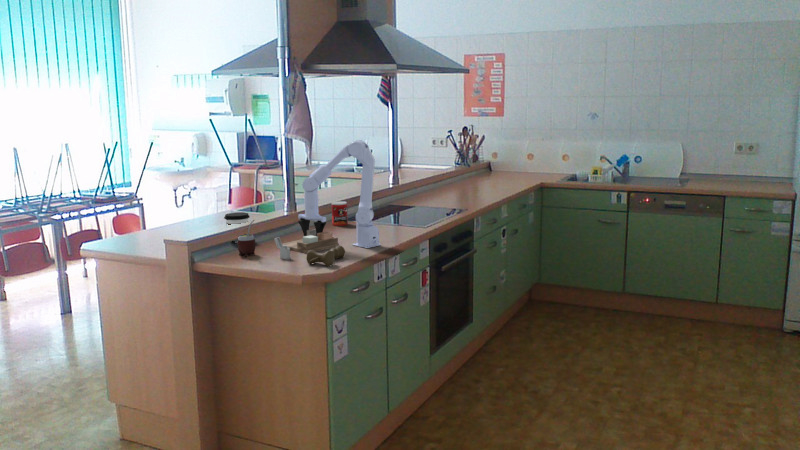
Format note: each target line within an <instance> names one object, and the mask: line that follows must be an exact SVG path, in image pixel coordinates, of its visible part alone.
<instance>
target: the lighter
mask: <svg viewBox="0 0 800 450" xmlns="http://www.w3.org/2000/svg"><path fill="white" fill-rule="evenodd" d="M273 240H274V243H275V245H276V247H277V249H279V256H280V259H282V260H290V259H291V250H290V248H287V245H282V241H281V238H280V237H279V236H277V237H275V238H274V239H273Z"/></svg>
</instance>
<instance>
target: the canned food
mask: <svg viewBox="0 0 800 450" xmlns="http://www.w3.org/2000/svg"><path fill="white" fill-rule="evenodd" d="M348 219H349V218H348V202H347V201H338V200H337V201H332V202H331V223H332V226H334V227H345V226H348Z"/></svg>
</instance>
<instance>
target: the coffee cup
mask: <svg viewBox="0 0 800 450" xmlns="http://www.w3.org/2000/svg"><path fill="white" fill-rule="evenodd" d="M223 219H224V220H225V221H226V225H227V224H228V225H231V224H241V223H246V222H248V223H249V219H250V215H249V212H244V211H243V212H240V211H239V212H229V213H225V215H224V218H223Z"/></svg>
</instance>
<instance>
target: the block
mask: <svg viewBox="0 0 800 450" xmlns="http://www.w3.org/2000/svg"><path fill="white" fill-rule="evenodd" d="M301 240H302V241H303V243H306V244H309V243H314V242H318V237H317V236H312V235H310V236H304V235H303V236H302V238H301Z"/></svg>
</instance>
